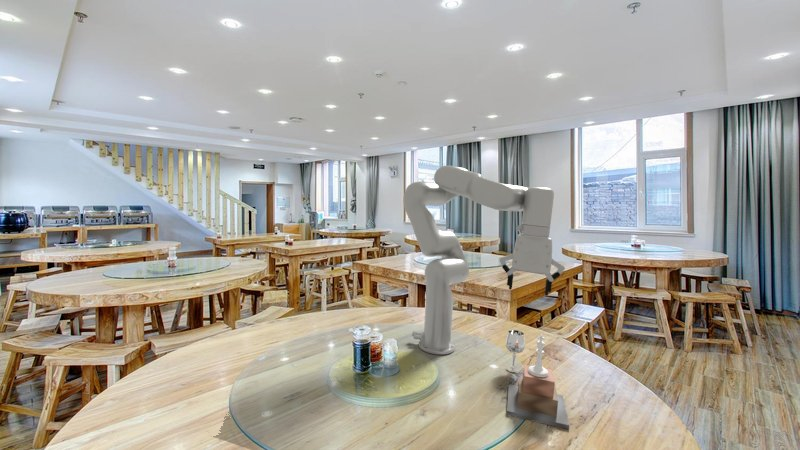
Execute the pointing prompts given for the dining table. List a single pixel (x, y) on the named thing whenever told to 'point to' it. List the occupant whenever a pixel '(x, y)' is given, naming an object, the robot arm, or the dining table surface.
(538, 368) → the chess piece
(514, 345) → the wineglass
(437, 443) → the dining table surface
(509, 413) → the stepped pedestal
